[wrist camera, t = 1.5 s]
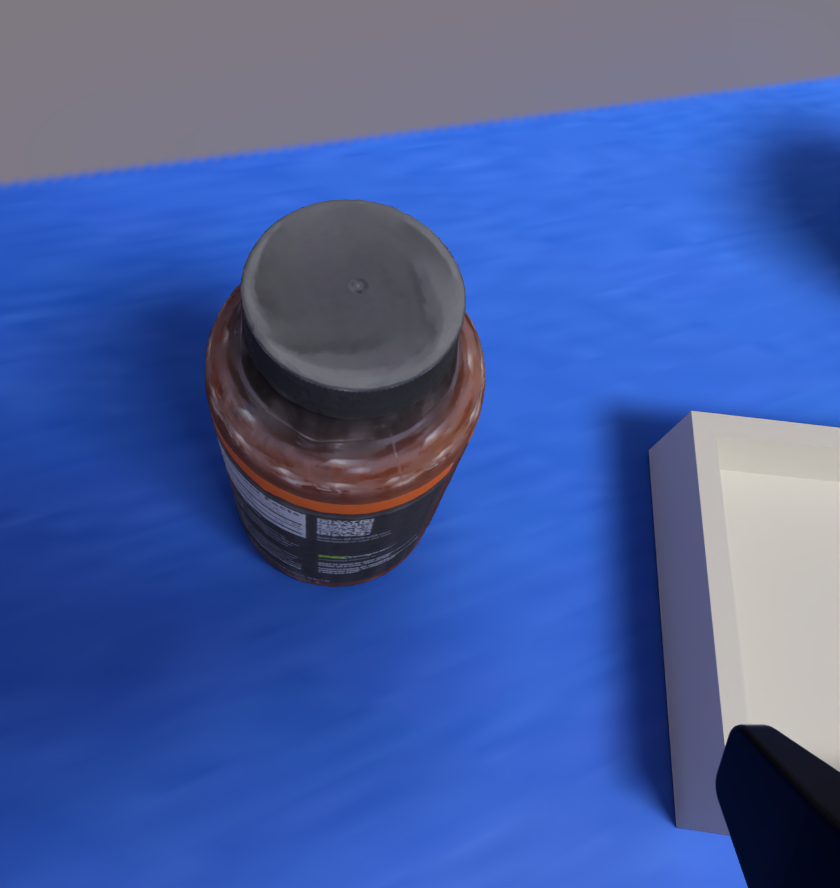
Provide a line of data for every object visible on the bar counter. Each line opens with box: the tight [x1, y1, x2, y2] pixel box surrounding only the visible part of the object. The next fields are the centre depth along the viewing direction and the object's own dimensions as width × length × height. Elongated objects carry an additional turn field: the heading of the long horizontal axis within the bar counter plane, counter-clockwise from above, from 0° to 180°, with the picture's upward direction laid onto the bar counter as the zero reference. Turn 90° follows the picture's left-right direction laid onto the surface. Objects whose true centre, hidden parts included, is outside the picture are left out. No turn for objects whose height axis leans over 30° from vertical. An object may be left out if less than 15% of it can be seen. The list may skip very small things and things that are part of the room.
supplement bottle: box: [205, 199, 486, 587], centre depth 18 cm, size 6×6×11 cm
